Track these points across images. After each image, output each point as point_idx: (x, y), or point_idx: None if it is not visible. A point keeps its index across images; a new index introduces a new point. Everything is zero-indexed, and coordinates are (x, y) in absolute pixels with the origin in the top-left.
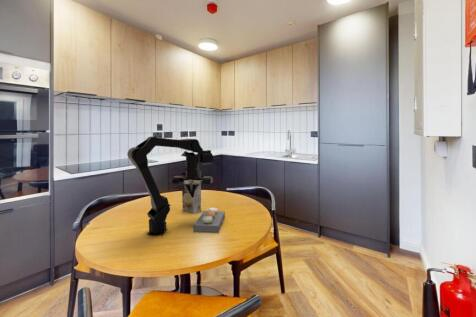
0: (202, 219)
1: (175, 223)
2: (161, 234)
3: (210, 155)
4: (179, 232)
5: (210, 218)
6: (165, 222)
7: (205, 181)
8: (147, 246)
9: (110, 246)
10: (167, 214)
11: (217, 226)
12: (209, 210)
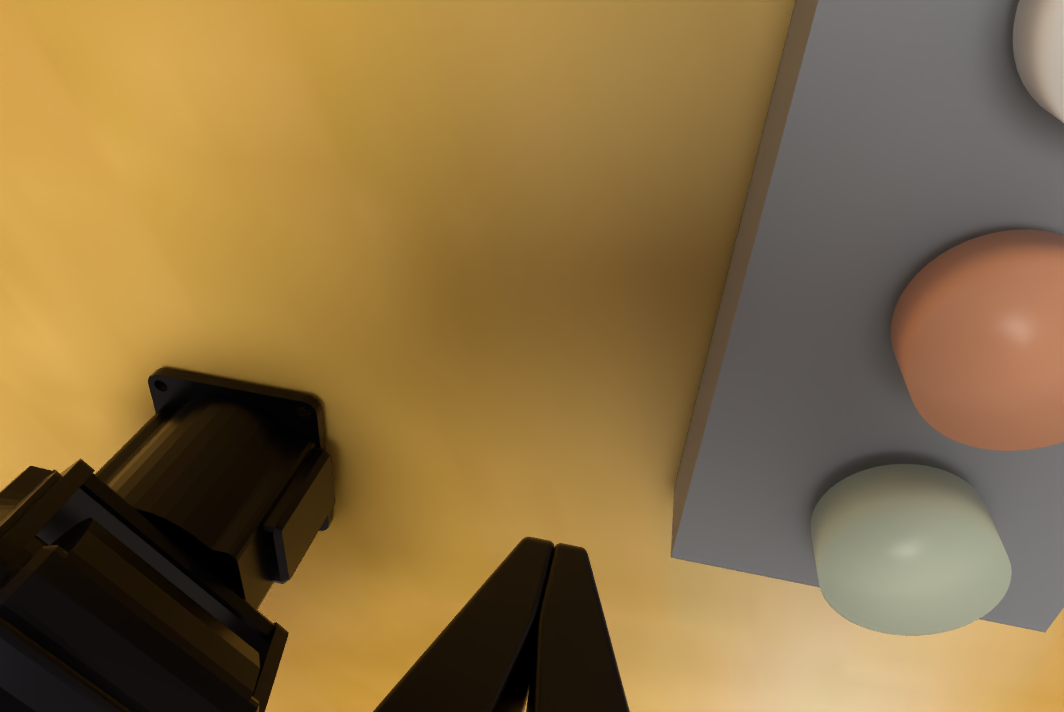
0: (809, 380)
1: (332, 176)
2: (326, 528)
3: None
4: (495, 472)
5: (960, 615)
6: (283, 549)
7: None
8: (317, 660)
9: None
10: (257, 652)
11: (1029, 623)
12: (1054, 108)
